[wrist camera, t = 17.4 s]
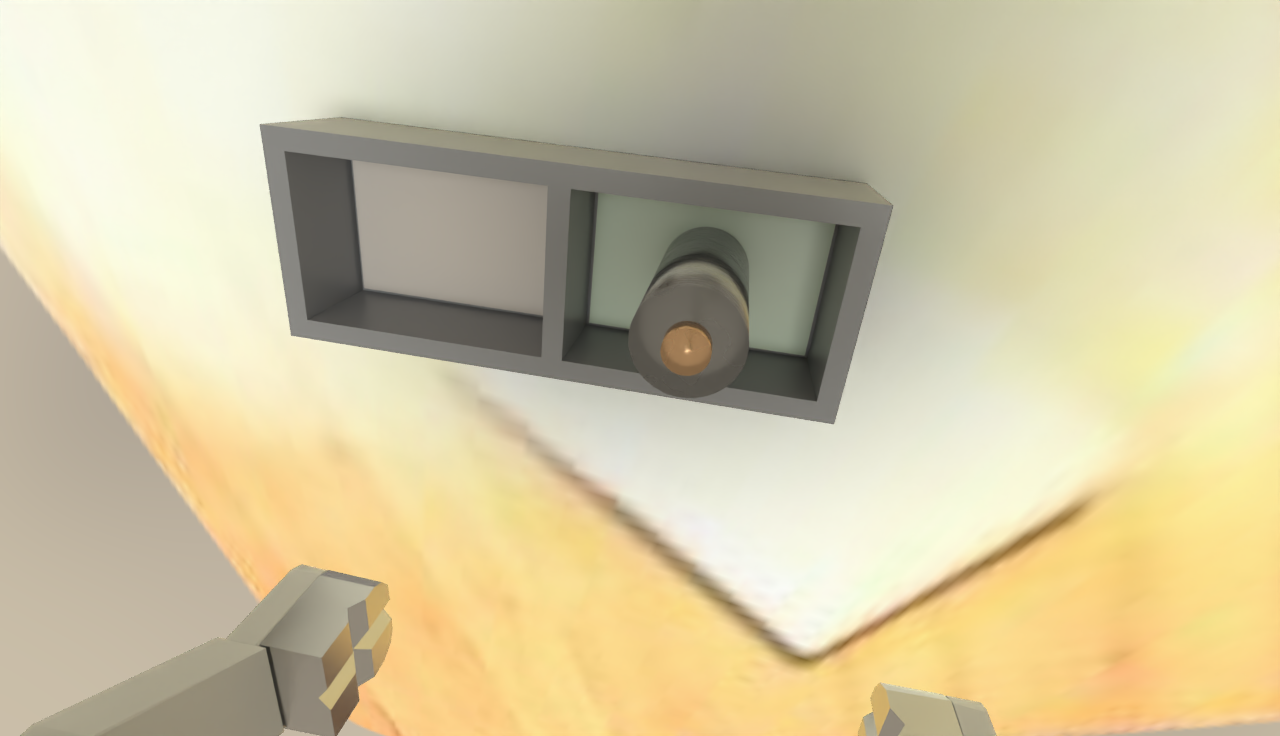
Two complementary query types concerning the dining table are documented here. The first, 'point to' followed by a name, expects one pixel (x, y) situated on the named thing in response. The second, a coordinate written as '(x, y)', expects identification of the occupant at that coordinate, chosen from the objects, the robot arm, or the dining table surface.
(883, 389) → the dining table surface
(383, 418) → the dining table surface
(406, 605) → the dining table surface
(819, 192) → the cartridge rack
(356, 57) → the dining table surface
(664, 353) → the metal cell
